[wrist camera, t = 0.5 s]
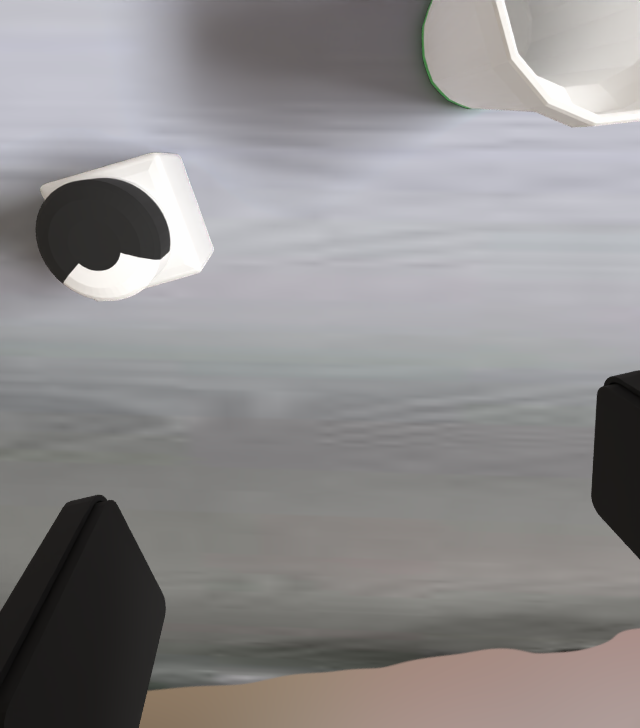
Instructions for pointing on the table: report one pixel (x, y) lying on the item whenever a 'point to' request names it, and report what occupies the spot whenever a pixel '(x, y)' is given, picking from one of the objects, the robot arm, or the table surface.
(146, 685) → the robot arm
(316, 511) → the table surface
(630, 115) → the cup
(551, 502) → the table surface
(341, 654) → the table surface
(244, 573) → the table surface
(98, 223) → the medicine bottle
